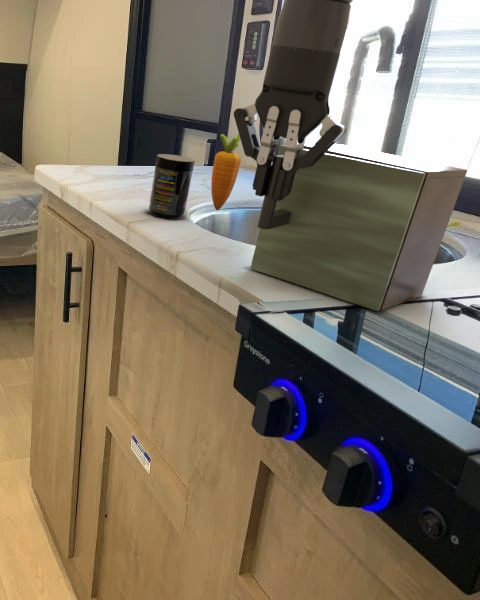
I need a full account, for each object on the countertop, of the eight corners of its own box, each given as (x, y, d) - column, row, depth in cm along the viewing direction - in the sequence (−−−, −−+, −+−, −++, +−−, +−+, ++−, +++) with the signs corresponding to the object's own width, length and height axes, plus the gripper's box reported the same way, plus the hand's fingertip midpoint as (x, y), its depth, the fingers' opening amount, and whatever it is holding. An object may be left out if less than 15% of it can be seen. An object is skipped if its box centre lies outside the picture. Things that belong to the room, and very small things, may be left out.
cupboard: (381, 310, 76) (428, 171, 69) (265, 265, 88) (295, 143, 81) (421, 296, 83) (467, 169, 76) (309, 256, 95) (340, 144, 89)
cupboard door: (360, 324, 70) (408, 177, 63) (227, 277, 80) (256, 146, 74) (380, 309, 75) (426, 173, 69) (253, 267, 86) (283, 144, 79)
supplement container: (184, 222, 106) (196, 163, 102) (147, 216, 107) (156, 157, 103) (183, 213, 113) (193, 157, 109) (147, 208, 113) (157, 152, 109)
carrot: (202, 209, 117) (218, 131, 112) (206, 205, 122) (222, 130, 116) (227, 214, 116) (244, 135, 110) (231, 210, 120) (248, 134, 115)
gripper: (377, 55, 67) (333, 207, 73) (261, 42, 74) (230, 181, 80) (361, 51, 61) (315, 215, 68) (236, 37, 68) (205, 187, 75)
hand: (269, 196), depth 74 cm, fingers closed on cupboard door, 2 cm apart
